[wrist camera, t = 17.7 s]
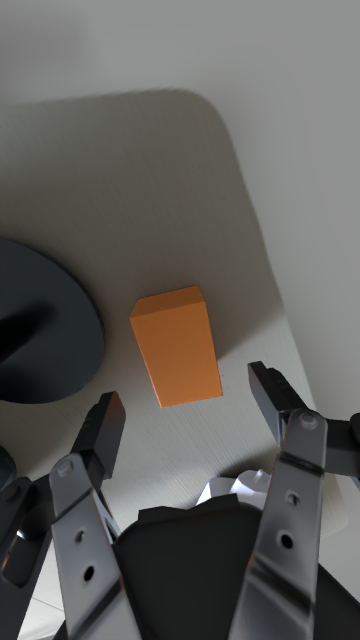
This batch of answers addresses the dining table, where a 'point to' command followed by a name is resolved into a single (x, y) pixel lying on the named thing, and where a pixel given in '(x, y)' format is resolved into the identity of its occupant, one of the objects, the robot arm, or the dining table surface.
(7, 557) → the pastry
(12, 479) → the trash can
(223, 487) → the charger
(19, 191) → the dining table surface
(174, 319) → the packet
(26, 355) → the bin lid
